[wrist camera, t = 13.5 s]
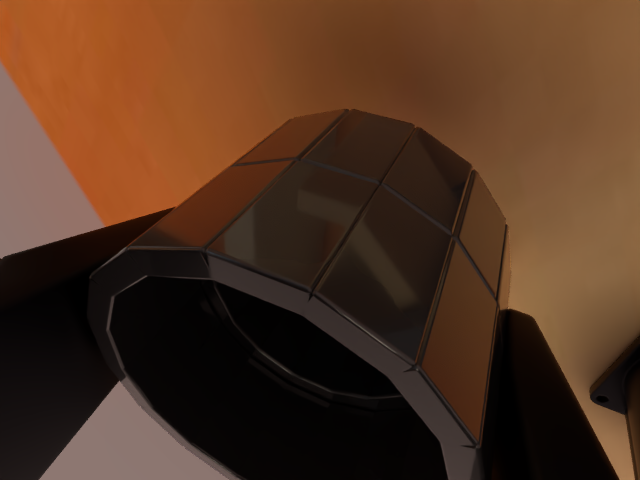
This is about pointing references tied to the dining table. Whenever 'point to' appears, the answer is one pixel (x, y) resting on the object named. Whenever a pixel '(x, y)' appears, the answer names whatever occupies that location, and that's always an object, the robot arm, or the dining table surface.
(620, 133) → the dining table surface
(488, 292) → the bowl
